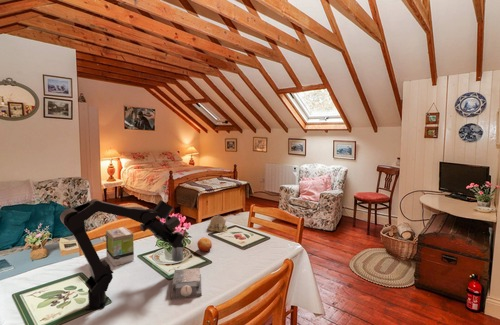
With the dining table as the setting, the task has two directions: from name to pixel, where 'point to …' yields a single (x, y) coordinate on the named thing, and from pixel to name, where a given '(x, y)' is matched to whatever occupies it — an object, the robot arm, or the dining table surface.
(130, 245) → the tea box
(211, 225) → the ceramic model
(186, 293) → the scale
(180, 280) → the pan
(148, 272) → the dining table surface
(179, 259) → the cylinder
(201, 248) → the fruit
